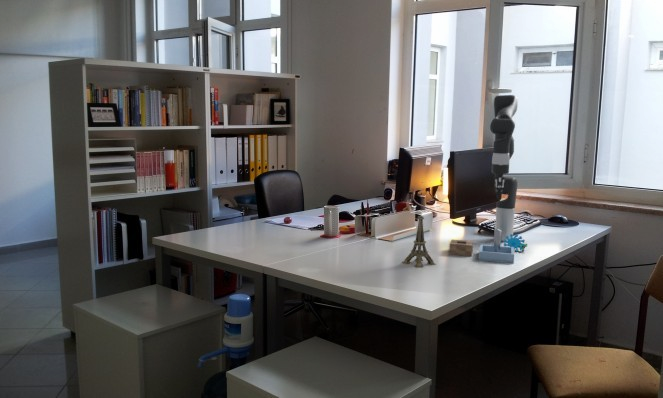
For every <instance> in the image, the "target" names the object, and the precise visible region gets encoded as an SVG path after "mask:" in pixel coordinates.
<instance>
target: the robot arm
mask: <svg viewBox="0 0 663 398" xmlns="http://www.w3.org/2000/svg"><path fill="white" fill-rule="evenodd" d="M517 110H518V97H517V96H516V95H514V94H505V95H504V94H503V95H502V94H501V95H500V94H499V95H496V96H494V100H493V111H494V114H493V116H494V118H493V119H492V120H491V122H490V125H489V129H490V130H489V131H490V132H491V133H492V134H494V142H493V151H492V158H491V173H492V174H494V184H493V185H494V191H495V193H496V197H495V198H496V200H498V201H497V202H496V207H495V225H494V230H495V229H500V230H501V242H503V241H504V239H506V236H509V239H510V238H511V237H510V234H513V235H514V228H515V227H514V226H515V211H516V210H515V209H516V202H517V200H516V199H517V192H518V179H517V178H516V177H513V176H504V175H508V174H509V171H510V161H511V158H512V157H513V155H514V152H515V139H514V136H513V134H514V132H515V131H514V130H515V128H516V123H515V120H514V119H513V117H514V116H515V115H516V113H517ZM503 195H506V196H507V198H504V199H502V198H503V197H502V196H503ZM512 238H514V236H513V237H512ZM506 241H508V239H506Z"/></svg>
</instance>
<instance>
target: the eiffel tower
mask: <svg viewBox="0 0 663 398" xmlns="http://www.w3.org/2000/svg"><path fill="white" fill-rule="evenodd" d="M417 220H418V224H417V229H416V235H415V240H413V243H414V245H413V247H412V250H410V253H409V254H408V255H407V256H406V258H405V259H404V260H403V261H402V262H401V263H402V264H405V265H407V264H412V263H411V260H412V259H413V258H414V257H416V258H415V259H414V261H416V262H415V265H414V268H418V269H420V268H424V265H423V263H422V262H424V260H423V258H425V260H426V262H427V263H426V264H427V265H428V266H436V265H437V263H435V262H434V260H433V258H432V257H431V255H430V254H429V251H428V250H427V248H426V244H427V241H425V235H424V233H425V232H424V221H423V220H425V218H424V216H422V214H420V215H418V216H417ZM422 257H423V258H422Z"/></svg>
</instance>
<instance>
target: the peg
mask: <svg viewBox="0 0 663 398" xmlns="http://www.w3.org/2000/svg"><path fill="white" fill-rule="evenodd" d="M493 231H494V232H493V233H494V235H493V252H498V253H500V246H501V242H502V241H501V230H500V229H495V228H494V230H493Z"/></svg>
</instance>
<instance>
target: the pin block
mask: <svg viewBox="0 0 663 398" xmlns="http://www.w3.org/2000/svg"><path fill="white" fill-rule="evenodd" d="M473 250H474V241H473V240H463V239H462V240H461V239H451V241H450V243H449V253H448V255H453V256H465V257H472V255H473V252H474V251H473Z"/></svg>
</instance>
